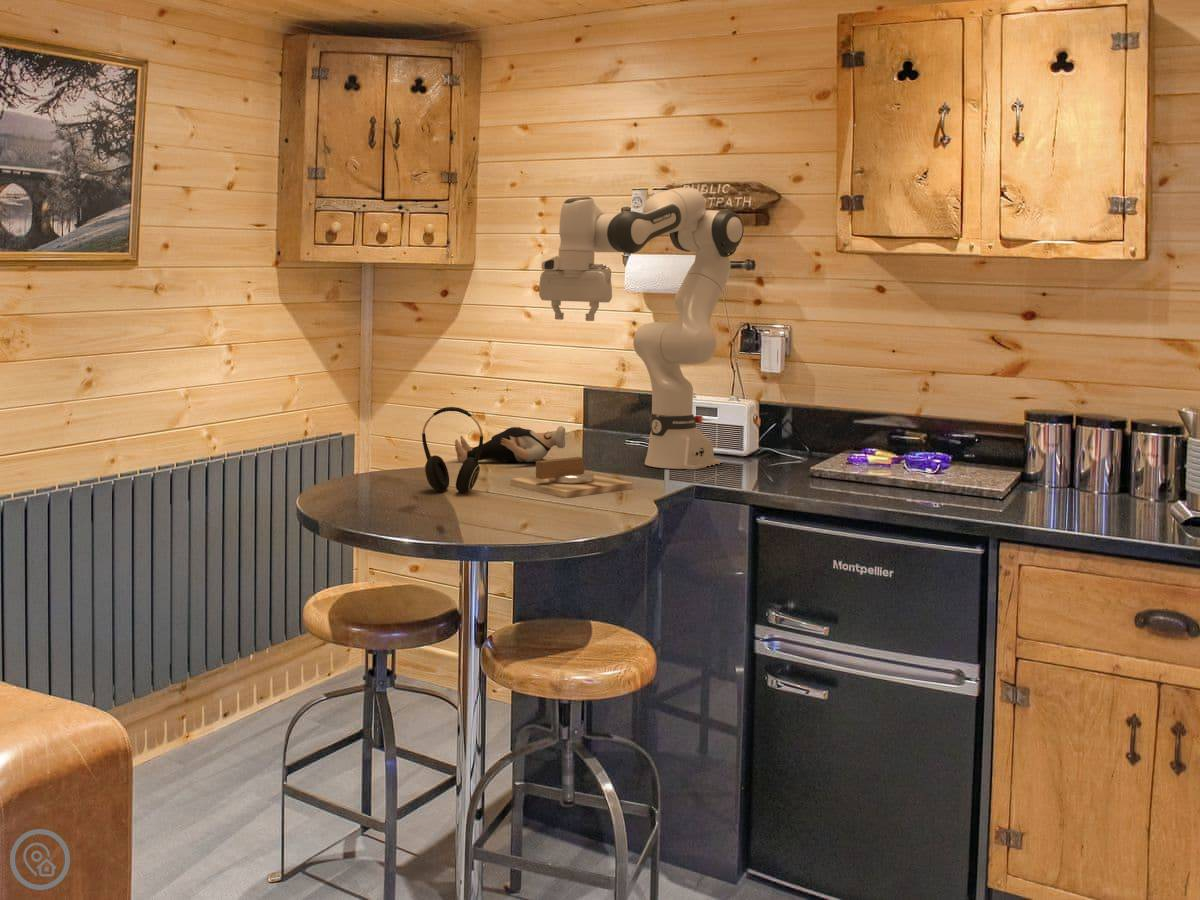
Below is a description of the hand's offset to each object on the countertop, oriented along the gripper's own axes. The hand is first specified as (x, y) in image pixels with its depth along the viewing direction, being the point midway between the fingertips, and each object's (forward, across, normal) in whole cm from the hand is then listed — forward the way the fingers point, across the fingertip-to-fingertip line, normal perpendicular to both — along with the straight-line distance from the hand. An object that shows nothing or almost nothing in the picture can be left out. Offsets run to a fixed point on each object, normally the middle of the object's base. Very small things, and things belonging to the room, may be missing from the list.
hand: (574, 320), depth 278 cm
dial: (+38, -6, +11) cm, 40 cm away
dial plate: (+40, -7, +8) cm, 41 cm away
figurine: (+40, +29, -12) cm, 51 cm away
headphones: (+41, +10, +32) cm, 53 cm away
